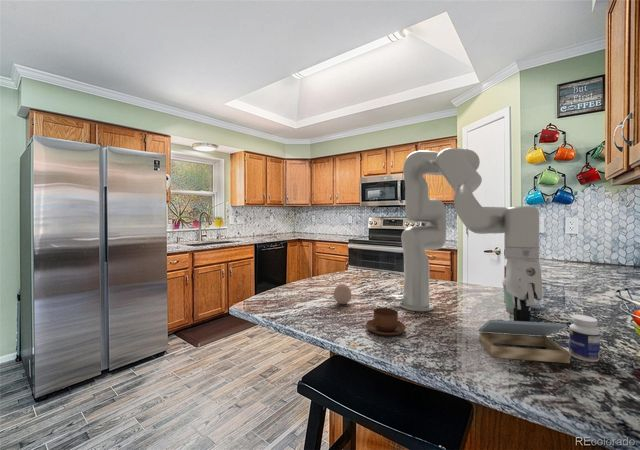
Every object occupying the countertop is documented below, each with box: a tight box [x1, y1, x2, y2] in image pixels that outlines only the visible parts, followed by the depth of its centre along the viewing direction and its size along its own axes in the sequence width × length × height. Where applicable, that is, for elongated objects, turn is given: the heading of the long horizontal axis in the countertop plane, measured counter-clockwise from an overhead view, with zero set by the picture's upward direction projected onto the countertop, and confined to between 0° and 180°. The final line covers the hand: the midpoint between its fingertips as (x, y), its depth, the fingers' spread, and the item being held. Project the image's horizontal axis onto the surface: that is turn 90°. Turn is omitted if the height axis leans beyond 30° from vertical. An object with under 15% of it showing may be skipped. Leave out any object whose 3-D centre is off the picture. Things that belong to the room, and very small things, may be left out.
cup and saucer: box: [365, 307, 406, 336], centre depth 92 cm, size 12×12×6 cm
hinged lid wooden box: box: [478, 331, 571, 364], centre depth 78 cm, size 17×10×2 cm, turn 79°
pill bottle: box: [568, 314, 601, 363], centre depth 74 cm, size 6×6×10 cm
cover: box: [478, 319, 568, 337], centre depth 79 cm, size 17×11×1 cm
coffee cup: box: [501, 277, 516, 315], centre depth 109 cm, size 8×9×12 cm
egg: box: [333, 283, 352, 305], centre depth 121 cm, size 7×7×8 cm
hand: (521, 323), depth 78 cm, fingers closed
